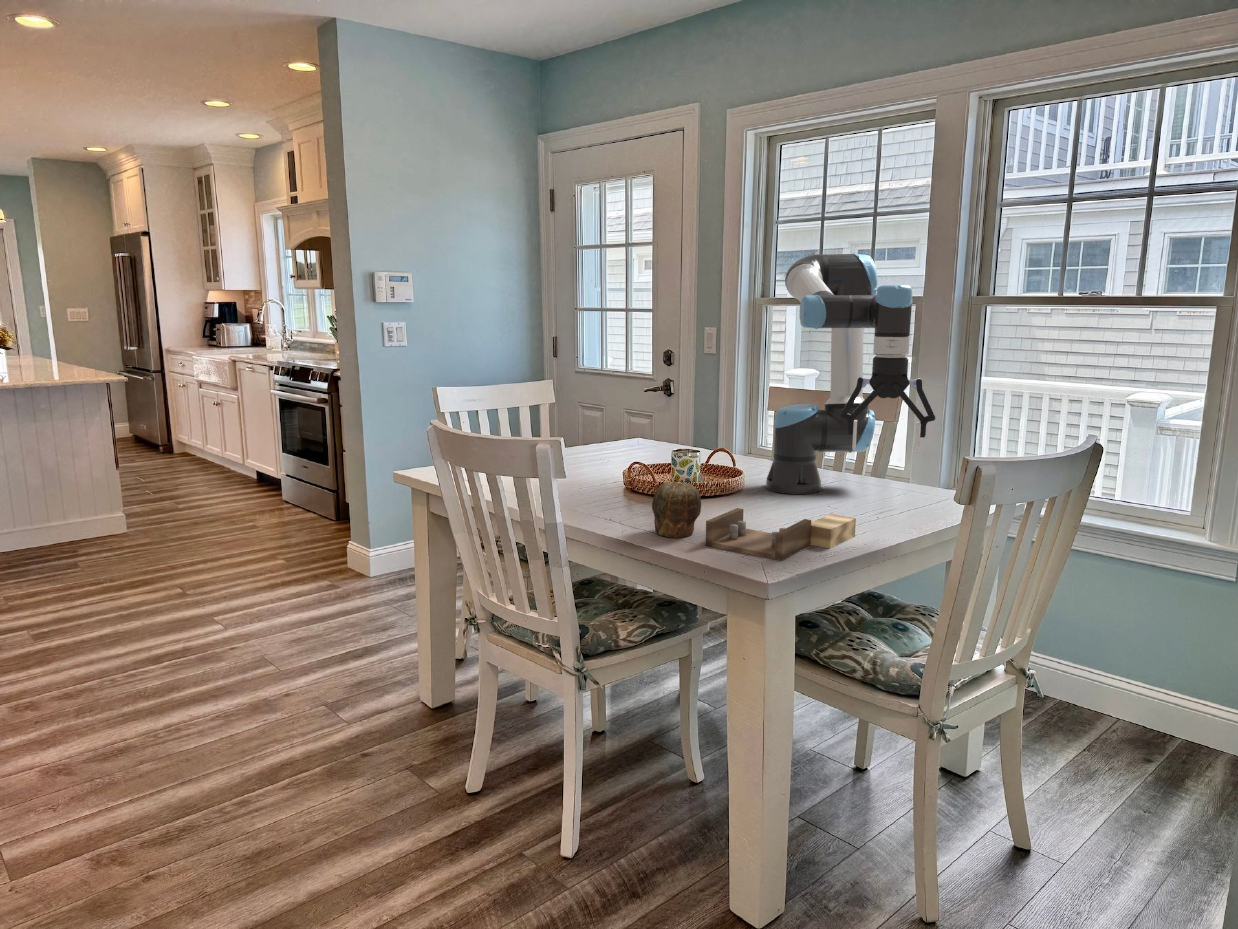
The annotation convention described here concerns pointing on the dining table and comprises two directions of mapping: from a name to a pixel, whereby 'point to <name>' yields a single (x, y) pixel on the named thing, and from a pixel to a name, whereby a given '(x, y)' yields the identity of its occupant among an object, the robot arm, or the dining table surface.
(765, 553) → the peg frame
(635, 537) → the dining table surface
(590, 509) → the dining table surface
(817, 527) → the light wooden block
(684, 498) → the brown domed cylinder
